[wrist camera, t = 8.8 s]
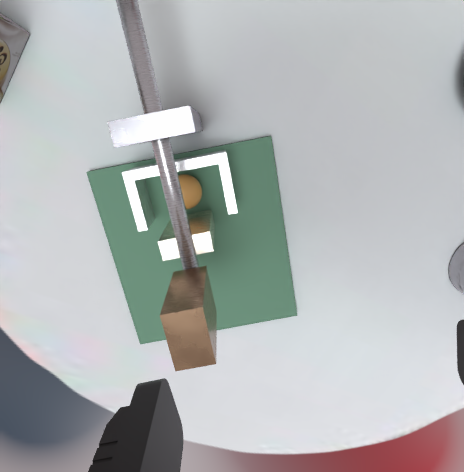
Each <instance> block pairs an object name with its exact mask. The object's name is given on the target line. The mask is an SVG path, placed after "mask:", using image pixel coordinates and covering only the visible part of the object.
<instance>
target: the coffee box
mask: <svg viewBox="0 0 464 472" xmlns="http://www.w3.org/2000/svg"><path fill="white" fill-rule="evenodd" d="M28 37H29V32H28V31H26V30H25V29H23V28H22V27H20V26H19V25H17V24H16V23H15V22H13V21H12V20H10V19H9V18H7V17H6V16H4V15H3V14H1V13H0V102H1V100H2V97H3V95H4V93H5V90H6V88H7V86H8V83H9V81H10V79H11V76H12V74H13V72H14V69H15V67H16V65H17V62H18V60H19V58H20V55H21V53H22V51H23V48H24V46H25V44H26V42H27V39H28Z"/></svg>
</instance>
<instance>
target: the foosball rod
mask: <svg viewBox="0 0 464 472" xmlns="http://www.w3.org/2000/svg"><path fill="white" fill-rule="evenodd" d="M116 3H117V7H118V11H119V15H120V19H121V23H122V27H123V31H124V35H125V39H126V43H127V47H128V51H129V55H130V59H131V63H132V67H133V71H134V75H135V79H136V83H137V87H138V91H139V95H140V99H141V103H142V107H143V111H144V114H149V113H154V112H159V111H163V109H162V104H161V100H160V96H159V91H158V87H157V83H156V78H155V74H154V70H153V66H152V61H151V57H150V53H149V48H148V44H147V40H146V36H145V31H144V27H143V23H142V18H141V14H140V10H139V5H138V1H137V0H116ZM151 143H152V147H153V151H154V155H155V159H156V163H157V167H158V171H159V175H160V179H161V183H162V187H163V191H164V195H165V199H166V203H167V207H168V211H169V215H170V220H169V222H168V224H167V226H166V228H165V229H164V231H163V233H162V235H161V237H160V239H159V241H158V244H159V248H160V251H161V255H162V259H163V261H165V260H170V259H176V258H180V259H181V263H182V267H183V270H180V271H175V272H173V275H172V278H171V281H170V284H169V287H168V291H167V294H166V297H165V300H164V303H163V306H162V310H161V313H160V318H161V322H162V325H163V329H164V332H165V336H166V339H167V343H168V346H169V350H170V353H171V357H172V360H173V364H174V367H175V371H180V370H185V369H190V368H196V367H201V366H207V365H212V364H216V328H217V311H216V306H215V302H214V297H213V293H212V288H211V284H210V280H209V275H208V271H207V266H202V267H199V263H198V259H197V254H202V253H208V252H213V251H214V231H215V224H214V219H213V214H212V210H206V211H201V212H196V213H191V214H187V212H186V207H185V203H184V199H183V194H182V190H181V186H180V182H179V177H178V173H177V169H176V164H175V160H174V156H173V152H172V147H171V143H170V139H169V137H167V138H162V139H157V140H152V141H151Z"/></svg>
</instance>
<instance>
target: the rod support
mask: <svg viewBox="0 0 464 472" xmlns="http://www.w3.org/2000/svg"><path fill="white" fill-rule="evenodd" d="M107 123H108V127H109V130H110V134H111V138H112V141H113V145H114V148H116V147H121V146H127V145H133V144H139V143H144V142H150V141H152V140H157V139H162V138H167V137H172V136H179V135H185V134H191V133H196V132H201V131H203V129H202V124H201V120H200V115H199V113H198V112H197V111H196V110H195V109H193V108H192V107H191V106H185V107H180V108H174V109H169V110H164V111H159V112H154V113H149V114H144V115H139V116H134V117H129V118H124V119H119V120H114V121H109V122H107Z"/></svg>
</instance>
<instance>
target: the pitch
mask: <svg viewBox="0 0 464 472" xmlns="http://www.w3.org/2000/svg"><path fill="white" fill-rule="evenodd" d="M221 150H226V153H227V159H228V164H229V169H230V175H231V180H232V185H233V191H234V196H235V202H236V207H237V212H238V213H234V214H228V209H227V204H226V199H225V194H224V189H223V183H222V178H221V173H220V168H219V164H215V165H210V166H205V167H200V168H195V169H189V170H184V171H179V172H177V173H178V175H182V174H186V175H191V176H193V177H194V178H196V179H197V180H198V181H199V183H200V185H201V187H202V197H201V200H200V202H199V203H198V204H197V205H196V206H195V207H193V208H191V209H186V212H187V214H191V213H196V212H201V211H206V210H212V214H213V219H214V224H215V231H214V251H213V252H208V253H202V254H197V259H198V263H199V267H202V266H207V271H208V275H209V280H210V284H211V288H212V293H213V297H214V302H215V306H216V311H217V328H216V330H221V329H226V328H232V327H237V326H243V325H248V324H254V323H259V322H264V321H270V320H275V319H281V318H286V317H292V316H297V310H296V304H295V297H294V290H293V283H292V276H291V269H290V262H289V256H288V249H287V242H286V235H285V228H284V221H283V214H282V207H281V201H280V194H279V187H278V180H277V173H276V166H275V159H274V152H273V146H272V139H271V136H267V137H262V138H257V139H252V140H247V141H242V142H237V143H231V144H226V145H221V146H216V147H211V148H206V149H201V150H195V151H190V152H185V153H180V154H175V155H173V156H174V159H179V158H185V157H190V156H195V155H200V154H205V153H210V152H215V151H221ZM154 163H156V159H155V158H154V159H149V160H144V161H139V162H134V163H129V164H123V165H118V166H113V167H108V168H103V169H98V170H93V171H88V172H87V175H88V178H89V182H90V185H91V188H92V191H93V194H94V198H95V201H96V204H97V207H98V210H99V214H100V217H101V220H102V223H103V226H104V230H105V233H106V236H107V239H108V242H109V246H110V249H111V252H112V255H113V258H114V262H115V265H116V268H117V271H118V274H119V278H120V281H121V284H122V287H123V290H124V294H125V297H126V300H127V303H128V306H129V310H130V313H131V316H132V319H133V322H134V326H135V329H136V332H137V335H138V338H139V342H140V344H145V343H150V342H156V341H161V340H166V336H165V332H164V329H163V325H162V322H161V318H160V313H161V310H162V306H163V303H164V300H165V297H166V294H167V291H168V287H169V284H170V281H171V278H172V275H173V272H175V271H180V270H183V267H182V263H181V259H180V258H176V259H170V260H165V261H163V259H162V255H161V251H160V248H159V244H158V241H159V239H160V237H161V235H162V233H163V231H164V229H165V228H166V226H167V224H168V222H169V220H170V215H169V211H168V207H167V203H166V199H165V195H164V191H163V187H162V183H161V179H160V175H158V176H153V177H148V178H145V180H146V184H147V188H148V192H149V195H150V199H151V203H152V207H153V211H154V214H155V218H156V219H155V220H154V221H153V223H152V224H151V226H150V227H149V229H148V230H144V231H138V228H137V224H136V221H135V217H134V214H133V210H132V207H131V203H130V199H129V196H128V192H127V189H126V185H125V182H124V178H123V175H122V172H124V171H127V170H129V169H131V168H133V167H138V166H143V165H149V164H154Z"/></svg>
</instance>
